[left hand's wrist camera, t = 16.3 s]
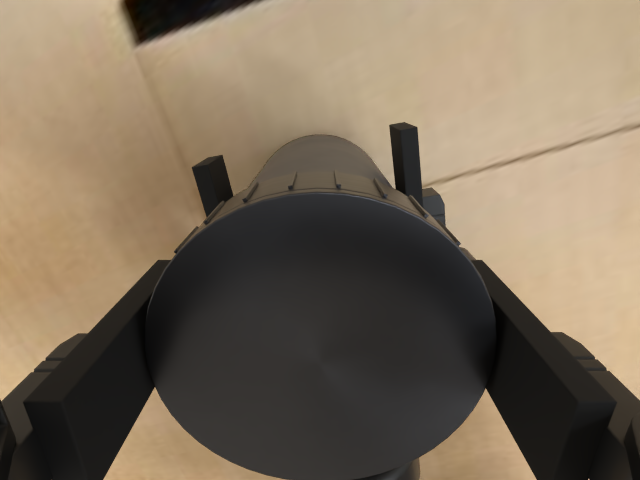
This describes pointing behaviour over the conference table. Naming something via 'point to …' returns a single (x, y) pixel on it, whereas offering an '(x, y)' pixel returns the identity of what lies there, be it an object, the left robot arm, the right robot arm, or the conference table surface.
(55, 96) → the conference table surface
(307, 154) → the jar
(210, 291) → the lid
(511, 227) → the conference table surface
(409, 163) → the right robot arm
